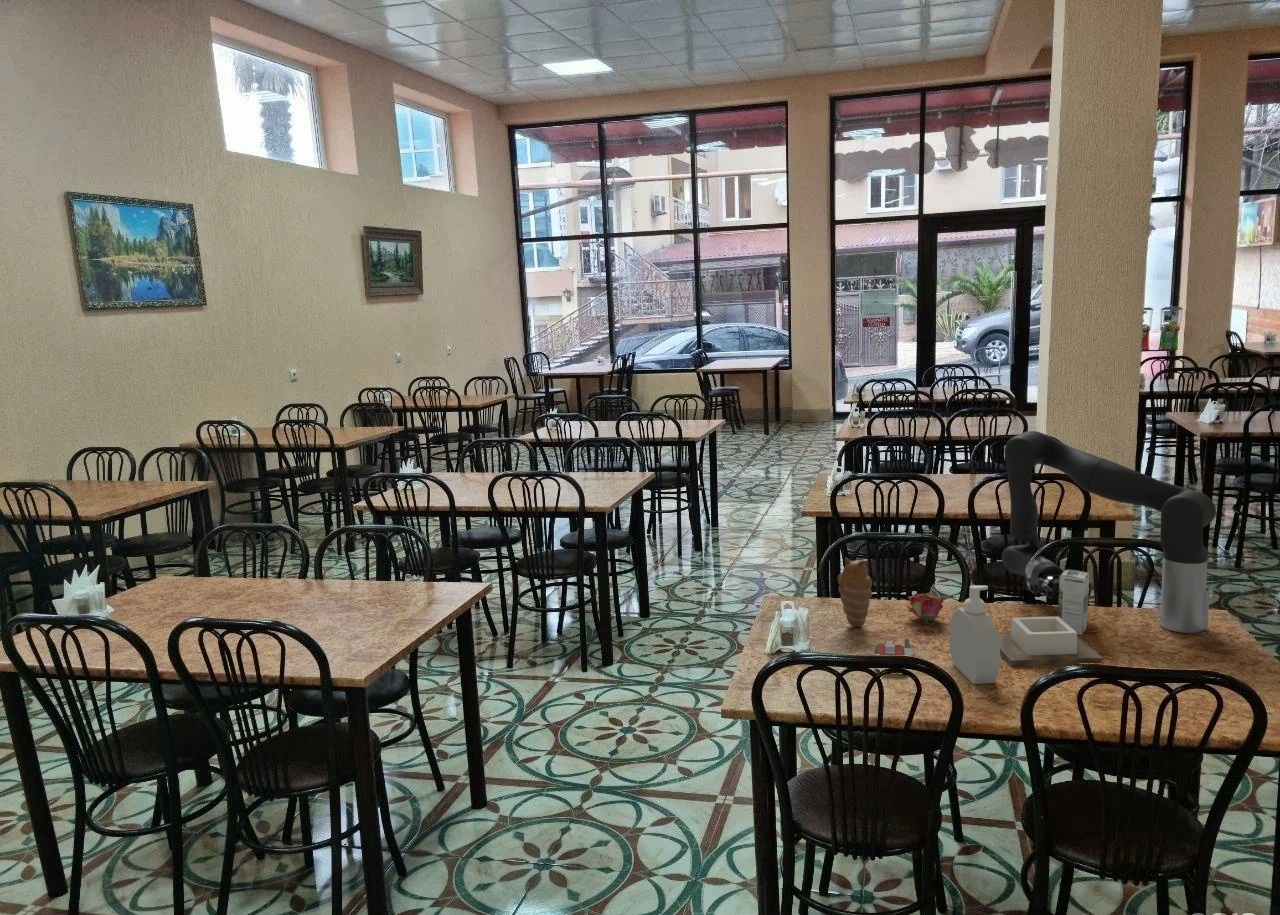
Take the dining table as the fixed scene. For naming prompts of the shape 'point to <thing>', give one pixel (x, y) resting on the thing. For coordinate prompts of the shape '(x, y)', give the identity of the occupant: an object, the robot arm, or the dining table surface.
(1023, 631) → the white open square box
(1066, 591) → the syrup box
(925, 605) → the flower
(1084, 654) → the walnut stand
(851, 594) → the cat ice cream
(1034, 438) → the robot arm
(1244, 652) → the dining table surface
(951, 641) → the soap bottle
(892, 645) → the walkie-talkie
